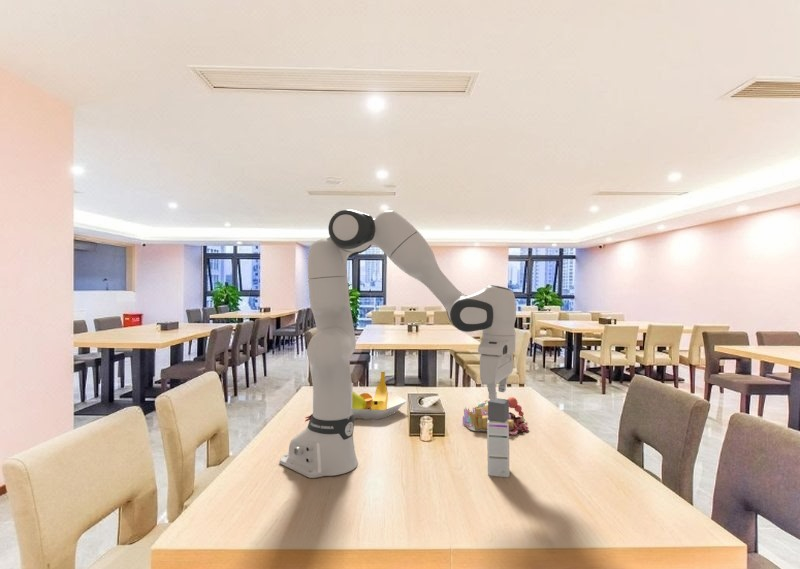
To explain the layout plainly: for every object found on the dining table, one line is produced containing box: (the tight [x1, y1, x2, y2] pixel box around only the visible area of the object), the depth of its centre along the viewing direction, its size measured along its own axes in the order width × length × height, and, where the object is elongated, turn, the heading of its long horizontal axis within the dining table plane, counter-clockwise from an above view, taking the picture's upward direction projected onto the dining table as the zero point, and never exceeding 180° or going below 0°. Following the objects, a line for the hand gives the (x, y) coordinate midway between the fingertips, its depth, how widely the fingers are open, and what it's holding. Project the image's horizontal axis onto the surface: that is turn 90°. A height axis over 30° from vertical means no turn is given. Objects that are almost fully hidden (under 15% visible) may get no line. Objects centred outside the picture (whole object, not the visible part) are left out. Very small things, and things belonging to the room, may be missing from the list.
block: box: [488, 397, 510, 423], centre depth 111 cm, size 4×4×5 cm
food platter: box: [462, 396, 529, 436], centre depth 151 cm, size 25×24×9 cm
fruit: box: [352, 371, 408, 420], centre depth 165 cm, size 30×26×14 cm
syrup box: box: [486, 419, 510, 478], centre depth 111 cm, size 6×6×14 cm
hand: (497, 395), depth 111 cm, fingers open, 8 cm apart
